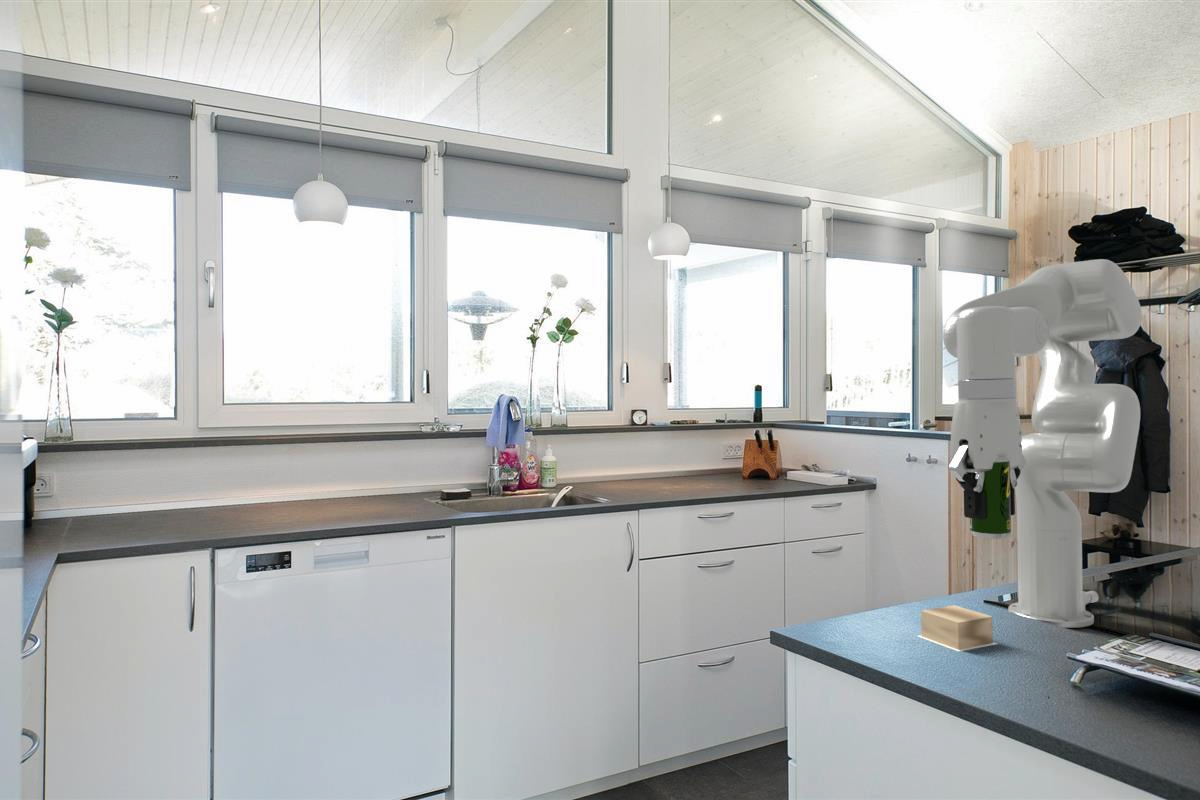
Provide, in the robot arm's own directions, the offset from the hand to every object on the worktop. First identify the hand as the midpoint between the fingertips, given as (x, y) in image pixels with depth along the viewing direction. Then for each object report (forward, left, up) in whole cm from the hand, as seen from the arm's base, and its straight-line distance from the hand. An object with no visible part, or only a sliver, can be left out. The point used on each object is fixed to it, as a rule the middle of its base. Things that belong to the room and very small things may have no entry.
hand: (989, 514), depth 112 cm
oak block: (0, -6, -20) cm, 21 cm away
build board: (0, -6, -21) cm, 22 cm away
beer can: (0, 0, -3) cm, 3 cm away
